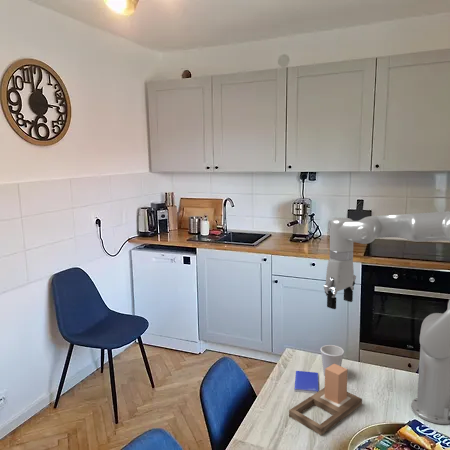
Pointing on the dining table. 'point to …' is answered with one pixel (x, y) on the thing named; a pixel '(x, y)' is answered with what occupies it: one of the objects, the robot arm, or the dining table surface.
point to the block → (336, 383)
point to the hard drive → (306, 382)
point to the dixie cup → (331, 356)
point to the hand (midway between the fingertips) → (339, 304)
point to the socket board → (329, 406)
